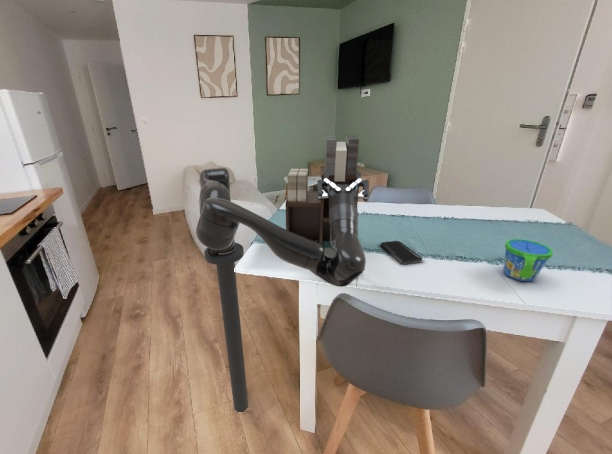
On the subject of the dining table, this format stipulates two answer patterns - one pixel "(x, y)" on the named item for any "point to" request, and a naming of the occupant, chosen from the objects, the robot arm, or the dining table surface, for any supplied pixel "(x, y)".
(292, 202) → the bookcase
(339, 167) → the white book
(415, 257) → the phone
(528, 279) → the snack cup
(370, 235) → the dining table surface
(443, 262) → the dining table surface
